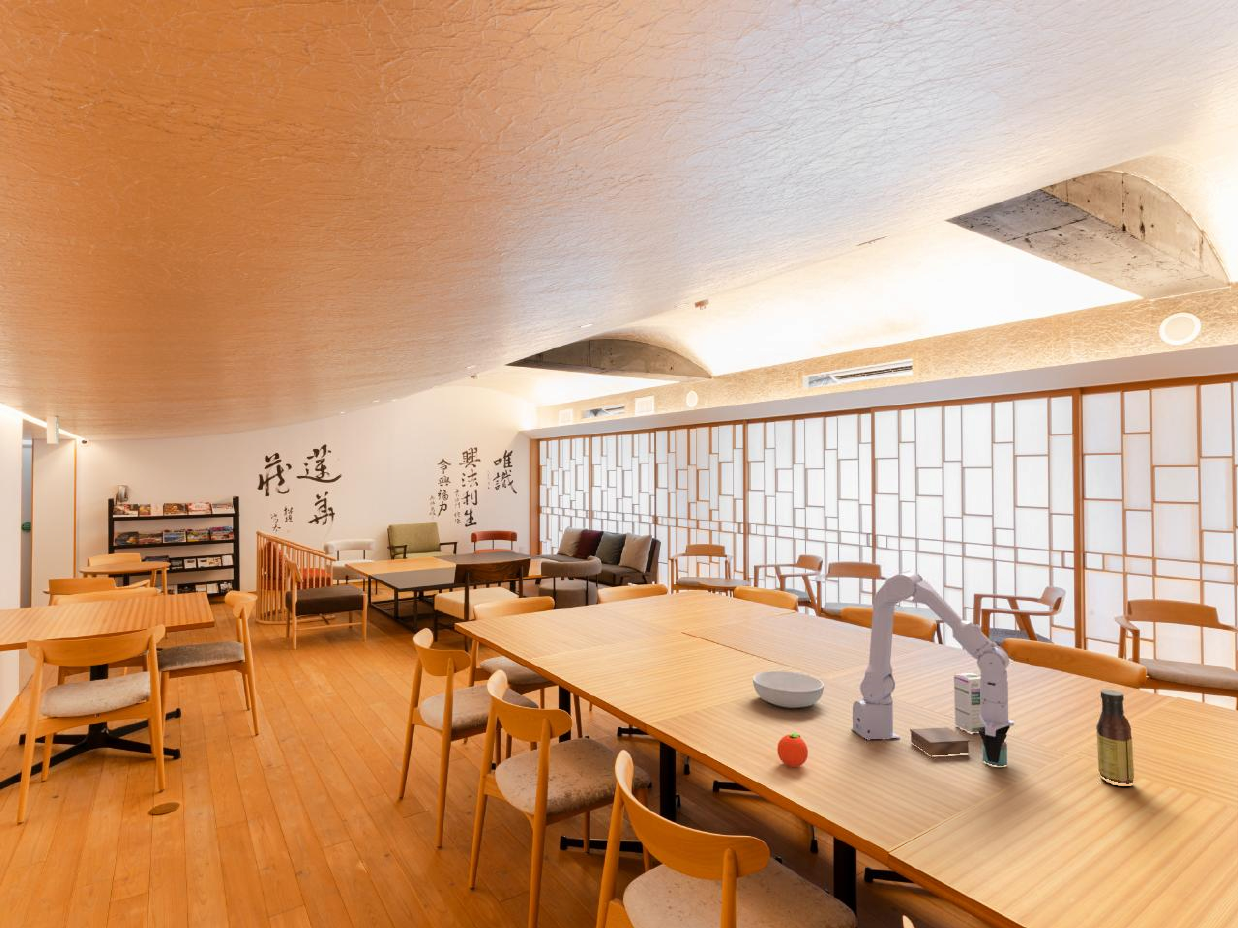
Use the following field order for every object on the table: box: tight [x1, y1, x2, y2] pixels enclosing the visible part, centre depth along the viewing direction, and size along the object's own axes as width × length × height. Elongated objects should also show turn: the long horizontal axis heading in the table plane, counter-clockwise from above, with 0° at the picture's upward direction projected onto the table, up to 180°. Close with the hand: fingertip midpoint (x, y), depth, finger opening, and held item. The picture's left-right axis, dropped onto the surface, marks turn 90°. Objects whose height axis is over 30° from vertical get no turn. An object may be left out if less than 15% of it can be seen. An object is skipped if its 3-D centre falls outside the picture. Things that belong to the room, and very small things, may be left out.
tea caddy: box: [981, 740, 1008, 766], centre depth 150 cm, size 5×5×5 cm
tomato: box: [776, 733, 809, 768], centre depth 148 cm, size 8×7×7 cm
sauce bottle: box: [1096, 689, 1135, 784], centre depth 141 cm, size 7×6×20 cm
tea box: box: [909, 727, 971, 756], centre depth 157 cm, size 10×8×4 cm
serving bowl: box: [752, 670, 825, 709], centre depth 191 cm, size 21×21×7 cm
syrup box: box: [953, 672, 985, 732], centre depth 171 cm, size 6×6×14 cm
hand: (994, 757), depth 149 cm, fingers closed on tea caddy, 5 cm apart
